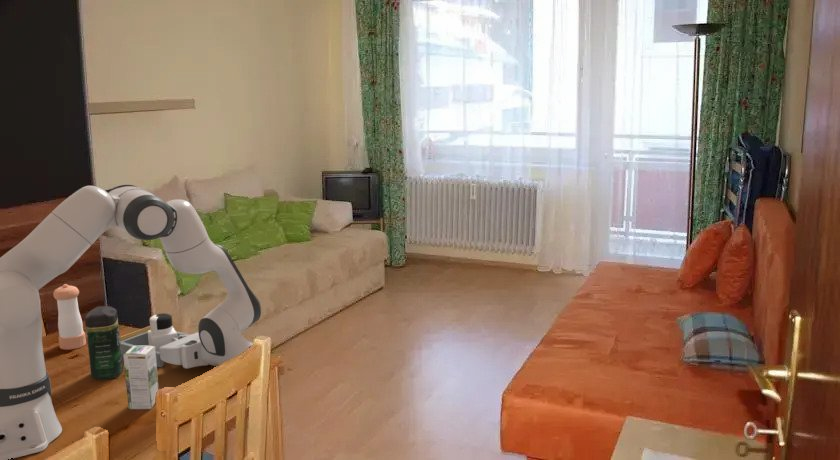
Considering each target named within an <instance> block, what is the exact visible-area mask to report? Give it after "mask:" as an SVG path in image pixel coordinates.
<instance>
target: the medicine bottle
mask: <svg viewBox="0 0 840 460" xmlns="http://www.w3.org/2000/svg"><path fill="white" fill-rule="evenodd" d="M149 326H150V328H151V330H148V341H149V345H148V346H154V347H155V351H158V352H159V348H160V347H161V346H164V345H166V344H169V343H171V342H172V341H171V339H172V338H174V337H176V336H177V333H176V331H177V330H176V329H175V328H174V326H173V318H172V315H171V314H169V313H157V314H154V315H152V316H150V318H149Z"/></svg>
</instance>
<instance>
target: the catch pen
mask: <svg viewBox="0 0 840 460" xmlns="http://www.w3.org/2000/svg"><path fill="white" fill-rule="evenodd" d="M148 330H151V328H150V325H148V326H146V327H143V328H140V329H138V330H134V331H132V332H129V333H127V334H123V335H121V336H120V345H121V354H122V358H124V356H123V355H124V354H125V353H126V352H127V351H128V350H129V349H131V348H132V347H133V346H139V345H147V346H149V341H148ZM175 331H176V333H177V336H178V335H191V334H190V333H186V332H182V331H177V330H175ZM155 352H156V363H157V368H163V367H164V361H162V360H161V359H160V354H159V352H158V351H155Z"/></svg>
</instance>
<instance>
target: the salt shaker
mask: <svg viewBox="0 0 840 460" xmlns="http://www.w3.org/2000/svg"><path fill="white" fill-rule="evenodd" d="M52 294H53V295H52V296H53V298H54V299H55V300H56V303H57V312H58V317H57V320H58V321H57V329H58V334H59V335H58V336H57V337H58V344H59V348H60V349H61V350H66V351H67V350H68V351H69V350H75V349H79V348H82V347H84V346H86V344H87V339H86V338H87V337H86V333H85V332H86V331H84V325H83V320H82V316H81V313H80V309H79V303H78V302H79V301H78V296H79V294H80V290H79V288H78V287H77V286H74V285H69V284H67V283H64V284H63V285H62V286H59V287H58V288H55V289H54V291H53V293H52Z"/></svg>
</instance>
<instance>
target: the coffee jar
mask: <svg viewBox="0 0 840 460" xmlns="http://www.w3.org/2000/svg"><path fill="white" fill-rule="evenodd" d="M84 324H85V332H86V333H85V334H86V338H87V339H86V342H87V347H88V358H89V367H90V376H91V378H92V379H93V380H101V381H106V380H110V379H113V378H116V377H117V378H118V377H119V376H120V375H121V374H122V372H123V369H124V361H123V357H122V354H121V345H120V337H121V336H120V328H119V327H120V326H119V318H118V311H117V309H116V308H114V307H113V306H111V305H104V306H95V307H94V308H92V309H91V310H89V311H88V312H87V314H86V315H85V317H84Z"/></svg>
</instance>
